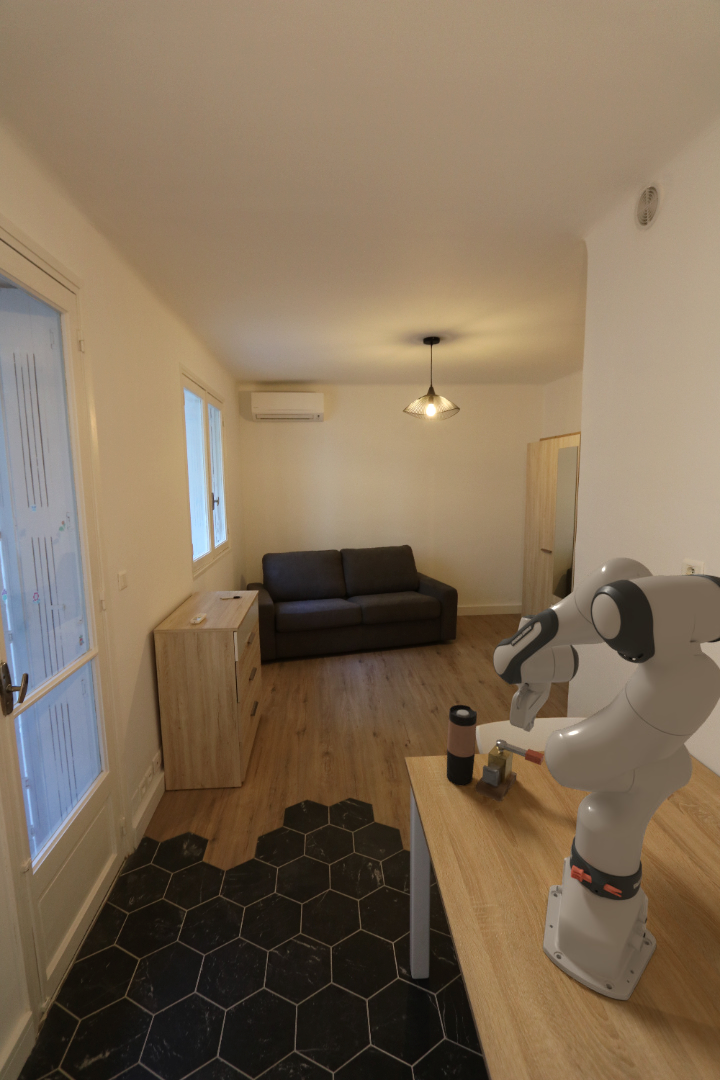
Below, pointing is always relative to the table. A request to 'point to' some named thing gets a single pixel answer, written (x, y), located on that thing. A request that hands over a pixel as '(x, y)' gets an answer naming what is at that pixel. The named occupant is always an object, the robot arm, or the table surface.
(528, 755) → the valve lever
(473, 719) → the travel mug
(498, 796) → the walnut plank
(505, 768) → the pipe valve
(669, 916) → the table surface
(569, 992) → the table surface
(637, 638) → the robot arm
